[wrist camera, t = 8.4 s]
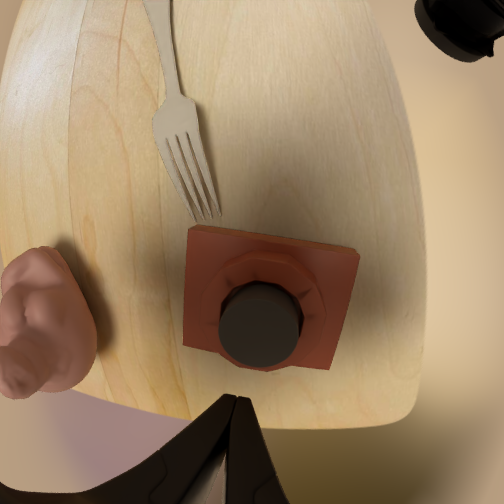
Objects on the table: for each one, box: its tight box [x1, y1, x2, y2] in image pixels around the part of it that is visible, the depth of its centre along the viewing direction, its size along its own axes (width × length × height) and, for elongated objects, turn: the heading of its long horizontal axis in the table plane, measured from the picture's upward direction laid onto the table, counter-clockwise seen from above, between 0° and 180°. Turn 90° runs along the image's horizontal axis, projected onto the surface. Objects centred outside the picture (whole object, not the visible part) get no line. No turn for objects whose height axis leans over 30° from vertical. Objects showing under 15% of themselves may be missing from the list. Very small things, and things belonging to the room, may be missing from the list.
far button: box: [218, 284, 299, 368], centre depth 15 cm, size 4×4×2 cm
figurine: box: [0, 246, 97, 399], centre depth 16 cm, size 9×11×12 cm
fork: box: [143, 0, 221, 222], centre depth 16 cm, size 3×21×3 cm, turn 14°
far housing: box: [183, 225, 360, 372], centre depth 17 cm, size 10×8×4 cm
